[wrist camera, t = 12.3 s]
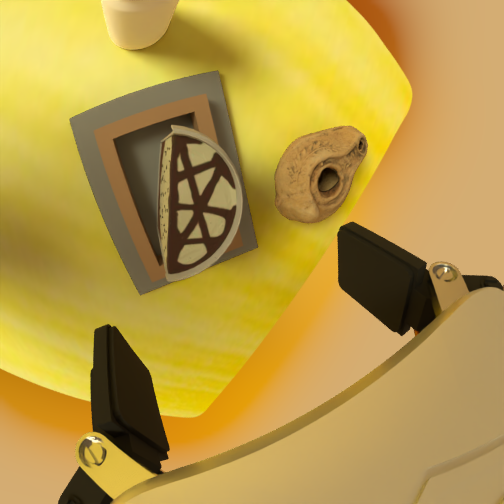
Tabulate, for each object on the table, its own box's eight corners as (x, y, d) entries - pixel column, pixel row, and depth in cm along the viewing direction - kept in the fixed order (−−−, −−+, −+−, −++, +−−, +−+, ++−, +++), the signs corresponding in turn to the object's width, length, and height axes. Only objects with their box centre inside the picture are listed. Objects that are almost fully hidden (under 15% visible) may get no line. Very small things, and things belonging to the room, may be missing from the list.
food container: (209, 237, 31) (240, 281, 23) (156, 239, 29) (168, 288, 21) (219, 130, 26) (259, 131, 18) (161, 126, 24) (174, 124, 16)
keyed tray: (139, 290, 32) (141, 307, 29) (71, 119, 20) (63, 117, 17) (254, 244, 36) (266, 255, 33) (215, 72, 24) (225, 65, 21)
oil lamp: (356, 146, 36) (398, 156, 29) (302, 229, 38) (338, 254, 31) (309, 95, 29) (353, 93, 23) (244, 190, 32) (276, 209, 25)
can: (166, 49, 21) (187, 2, 11) (105, 54, 19) (89, 10, 9) (170, 2, 18) (196, -56, 8) (112, 6, 16) (107, -52, 6)
